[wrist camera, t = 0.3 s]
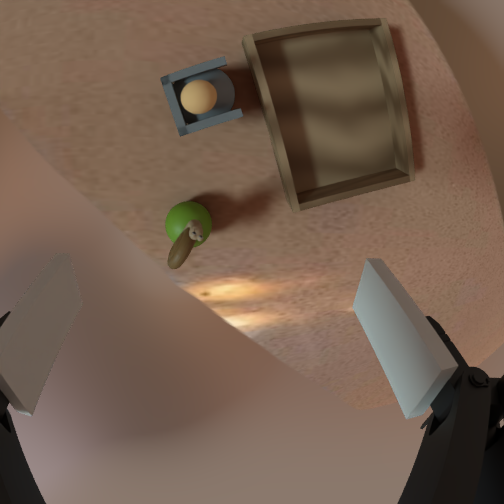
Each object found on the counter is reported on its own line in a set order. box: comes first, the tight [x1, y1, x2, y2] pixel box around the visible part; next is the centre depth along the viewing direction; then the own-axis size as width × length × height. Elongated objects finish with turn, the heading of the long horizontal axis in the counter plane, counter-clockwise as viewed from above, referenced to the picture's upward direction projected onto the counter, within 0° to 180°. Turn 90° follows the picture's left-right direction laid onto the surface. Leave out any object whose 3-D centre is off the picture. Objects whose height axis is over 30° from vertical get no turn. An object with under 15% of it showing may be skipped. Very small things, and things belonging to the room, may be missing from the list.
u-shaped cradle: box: [160, 56, 243, 137], centre depth 28 cm, size 6×6×7 cm
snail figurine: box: [165, 201, 212, 269], centre depth 32 cm, size 5×6×12 cm
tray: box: [242, 18, 415, 213], centre depth 31 cm, size 20×16×4 cm
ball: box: [181, 80, 217, 114], centre depth 24 cm, size 3×3×3 cm
